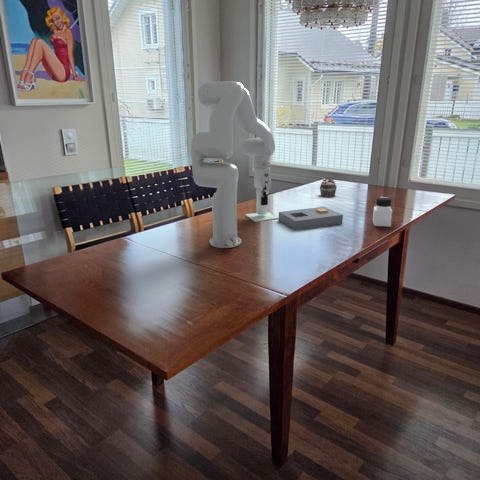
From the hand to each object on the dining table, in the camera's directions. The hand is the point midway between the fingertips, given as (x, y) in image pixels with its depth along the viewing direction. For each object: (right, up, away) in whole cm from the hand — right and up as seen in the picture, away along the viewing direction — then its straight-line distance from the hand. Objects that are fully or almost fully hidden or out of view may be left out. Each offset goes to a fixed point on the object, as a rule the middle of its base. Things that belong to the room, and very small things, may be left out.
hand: (261, 203), depth 193 cm
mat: (0, -6, +2) cm, 7 cm away
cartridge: (0, -5, +2) cm, 5 cm away
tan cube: (+27, -8, -4) cm, 29 cm away
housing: (+22, -9, -6) cm, 24 cm away
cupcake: (+40, +8, +43) cm, 59 cm away
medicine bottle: (+53, -11, -11) cm, 55 cm away
